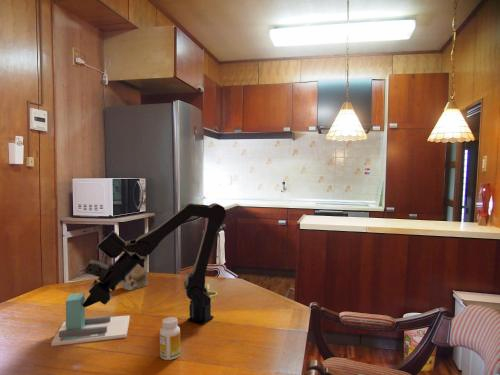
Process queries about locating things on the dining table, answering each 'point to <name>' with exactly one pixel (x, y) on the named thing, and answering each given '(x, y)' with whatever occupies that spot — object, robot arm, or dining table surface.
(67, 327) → the switch tab
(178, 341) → the supplement bottle
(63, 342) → the white rail base plate
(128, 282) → the coffee box
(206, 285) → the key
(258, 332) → the dining table surface
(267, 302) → the dining table surface
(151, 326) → the dining table surface
